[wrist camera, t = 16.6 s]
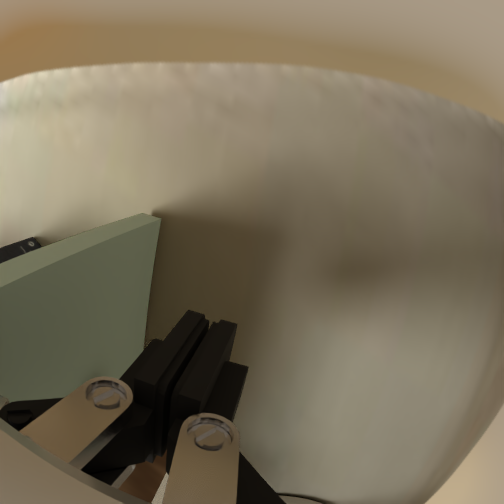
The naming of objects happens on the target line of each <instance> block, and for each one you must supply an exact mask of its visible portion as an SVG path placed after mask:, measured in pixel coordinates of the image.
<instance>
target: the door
mask: <svg viewBox="0 0 504 504" xmlns="http://www.w3.org/2000/svg"><path fill="white" fill-rule="evenodd" d="M160 224H161V218H158V217H154V216H151V215H147V214H144V213H141V214H138V215H134V216H131V217H128V218H125V219H122V220H119V221H116V222H113V223H110V224H107V225H104V226H101V227H98V228H95V229H92V230H89V231H86V232H83V233H80V234H77V235H75V236H72V237H69V238H66V239H63V240H61V241H58V242H55V243H52V244H50V245H47V246H44V247H42V248H39V249H36V250H34V251H31V252H28V253H26V254H23V255H21V256H18V257H16V258H13V259H11V260H8V261H6V262H3V263H1V264H0V395H1V396H3V397H6V398H8V400H9V403H11V402H14V401H22V400H39V399H52V398H63V397H66V396H67V395H69V394H70V393H71V392H73V391H74V390H75V389H77V388H78V387H79V386H81V385H82V384H83V383H85V382H86V381H88V380H90V379H92V378H95V377H103V376H108V377H113V378H116V379H120V377H121V376H122V375H123V374H124V373H125V371H126V370H127V369H128V368H129V367H130V366H131V364H132V363H133V362H134V361H135V360H136V359H137V357H138V356H139V355H140V354H141V353H142V352H143V350H144V339H145V330H146V320H147V312H148V303H149V296H150V288H151V281H152V274H153V267H154V260H155V254H156V247H157V241H158V235H159V230H160Z"/></svg>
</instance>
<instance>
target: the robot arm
mask: <svg viewBox="0 0 504 504" xmlns="http://www.w3.org/2000/svg"><path fill="white" fill-rule="evenodd" d="M208 328H209V320H206V319H205V315H204V314H200V313H197V312H194V311H190V310H188V311H187V312H186V313H185V315H184V316H183V317H182V318H181V320H180V321H179V322H178V323H177V325H176V326H175V327H174V328H173V330H172V331H171V332H170V333H169V334H168V336H167V337H166V338H165V339H164V341H162V340H159V339H153V340H152V341H151V342H150V343H149V345H148V346H147V347H146V348H145V349H144V350H143V352H142V353H141V354H140V355H139V356H138V357H137V359H136V360H135V361H134V362H133V363H132V364H131V366H130V367H129V368H128V369H127V370H126V371H125V373H124V374H123V375H122V376H121V377H120V379H116V378H113V377H108V376H103V377H95V378H92V379H90V380H88V381H86V382H85V383H83V384H82V385H81V386H79V387H78V388H77V389H75V390H74V391H73V392H71V393H70V394H69V395H67V396H66V397H63V398H52V399H39V400H22V401H14V402H11V403H9V400H8V398H6V397H3V396H1V395H0V504H152V503H149V502H146V501H144V500H142V499H139V498H137V497H134V496H132V495H130V494H127V493H125V492H123V491H121V490H118V488H119V487H120V486H121V485H122V483H123V482H124V481H125V480H126V479H127V478H128V476H129V475H130V474H131V473H132V472H133V470H134V468H135V465H136V464H139V463H143V462H145V461H148V462H150V463H153V462H154V460H155V458H156V456H160V457H163V455H164V453H165V452H166V450H167V454H166V472H167V473H168V475H169V477H168V481H167V485H166V489H165V493H164V497H163V501H162V504H322V503H319V502H316V501H312V500H309V499H304V498H298V497H291V496H281V495H278V494H277V493H276V492H275V491H274V490H273V489H272V488H271V487H270V486H269V485H268V484H267V482H266V481H265V480H264V479H263V478H262V477H261V476H260V475H259V473H258V472H257V471H256V470H255V469H254V468H253V467H252V465H251V464H250V463H249V462H248V461H247V460H246V458H245V457H244V456H243V455H242V454H241V452H240V451H239V447H240V435H239V431H238V429H237V428H236V426H235V425H234V424H233V423H232V422H233V419H234V416H235V413H236V410H237V407H238V403H239V400H240V397H241V393H242V390H243V386H244V382H245V379H246V375H247V371H248V367H247V366H244V365H240V364H236V363H233V362H229V360H230V355H231V351H232V346H233V342H234V337H235V333H236V328H237V324H236V323H232V322H228V321H225V320H220V322H219V323H216V322H213V324H212V325H211V327H210V329H209V330H208Z"/></svg>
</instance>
